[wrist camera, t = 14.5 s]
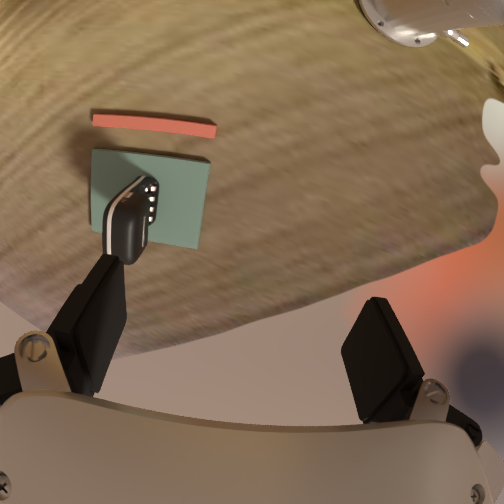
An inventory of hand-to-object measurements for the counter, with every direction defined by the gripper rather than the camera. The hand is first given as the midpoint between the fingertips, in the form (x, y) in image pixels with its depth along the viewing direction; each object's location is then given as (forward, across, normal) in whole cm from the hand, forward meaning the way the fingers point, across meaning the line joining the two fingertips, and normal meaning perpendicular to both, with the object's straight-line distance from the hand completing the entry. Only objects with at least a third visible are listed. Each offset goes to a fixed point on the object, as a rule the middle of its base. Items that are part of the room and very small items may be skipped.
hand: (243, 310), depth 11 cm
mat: (+28, +12, +8) cm, 32 cm away
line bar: (+28, +12, -2) cm, 31 cm away
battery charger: (+28, +11, +8) cm, 31 cm away
